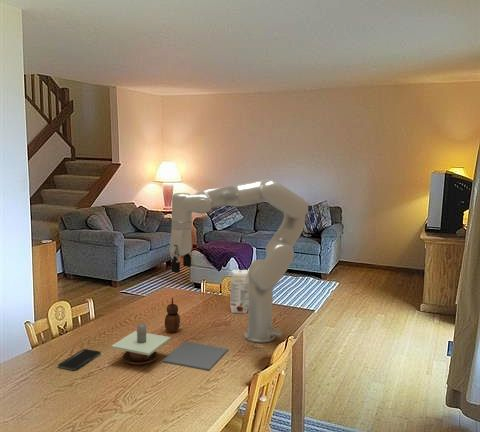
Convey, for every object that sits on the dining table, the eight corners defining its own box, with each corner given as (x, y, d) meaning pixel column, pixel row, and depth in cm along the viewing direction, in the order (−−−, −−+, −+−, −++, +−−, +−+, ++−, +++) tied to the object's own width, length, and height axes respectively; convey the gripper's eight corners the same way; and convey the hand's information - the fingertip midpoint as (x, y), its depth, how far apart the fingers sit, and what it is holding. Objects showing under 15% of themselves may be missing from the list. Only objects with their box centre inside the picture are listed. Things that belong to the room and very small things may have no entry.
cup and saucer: (164, 358, 175) (164, 342, 174) (140, 371, 165) (140, 353, 164) (139, 350, 181) (139, 334, 181) (115, 362, 171) (115, 345, 170)
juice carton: (248, 313, 223) (249, 273, 220) (229, 313, 223) (230, 273, 220) (248, 308, 230) (249, 269, 227) (230, 308, 230) (231, 268, 228)
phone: (56, 365, 166) (83, 348, 180) (56, 368, 166) (84, 351, 180) (75, 369, 163) (102, 351, 177) (75, 372, 163) (102, 354, 177)
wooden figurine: (176, 334, 196) (176, 298, 194) (162, 333, 198) (162, 297, 195) (181, 328, 203) (181, 293, 201) (168, 327, 204) (168, 292, 202)
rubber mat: (228, 350, 183) (228, 348, 183) (209, 370, 166) (209, 369, 166) (184, 342, 189) (184, 341, 189) (162, 361, 172) (162, 360, 172)
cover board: (170, 339, 177) (170, 321, 176) (149, 355, 163) (149, 336, 162) (135, 333, 182) (135, 315, 181) (111, 348, 168) (110, 329, 167)
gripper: (183, 221, 195) (182, 263, 198) (162, 228, 179) (162, 273, 182) (200, 223, 193) (199, 265, 195) (180, 229, 177) (180, 275, 179)
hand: (181, 269), depth 188 cm, fingers open, 9 cm apart
